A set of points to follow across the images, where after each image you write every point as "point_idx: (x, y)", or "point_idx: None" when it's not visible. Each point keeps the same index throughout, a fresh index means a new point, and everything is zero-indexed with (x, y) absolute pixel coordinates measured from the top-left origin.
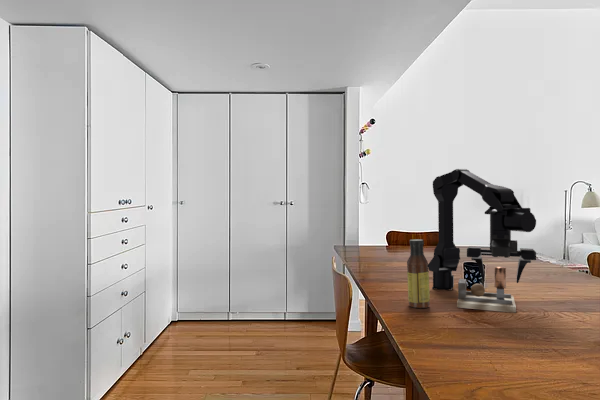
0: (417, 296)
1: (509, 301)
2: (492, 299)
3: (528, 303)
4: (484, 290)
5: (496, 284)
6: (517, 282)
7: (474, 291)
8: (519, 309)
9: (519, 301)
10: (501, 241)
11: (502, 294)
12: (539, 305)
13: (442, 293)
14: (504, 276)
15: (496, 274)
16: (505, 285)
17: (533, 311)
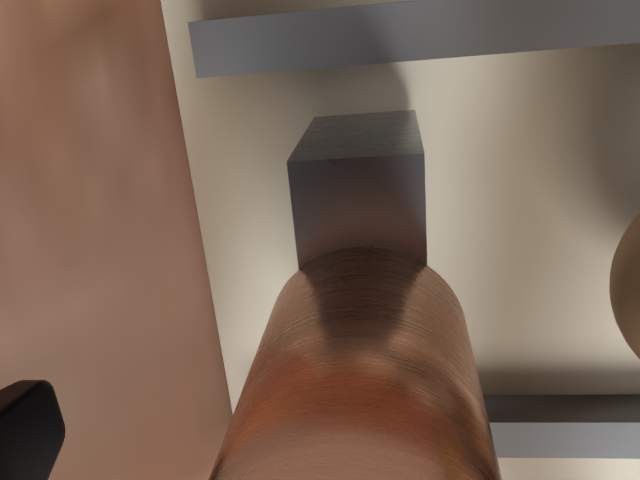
0: None
1: (229, 20)
2: (481, 6)
3: (117, 409)
4: (628, 262)
5: (434, 301)
6: (29, 380)
7: None
8: (153, 92)
9: (203, 458)
10: None
11: (327, 138)
12: (15, 366)
13: None
14: (239, 428)
15: (457, 449)
16: (267, 324)
17: (3, 60)
